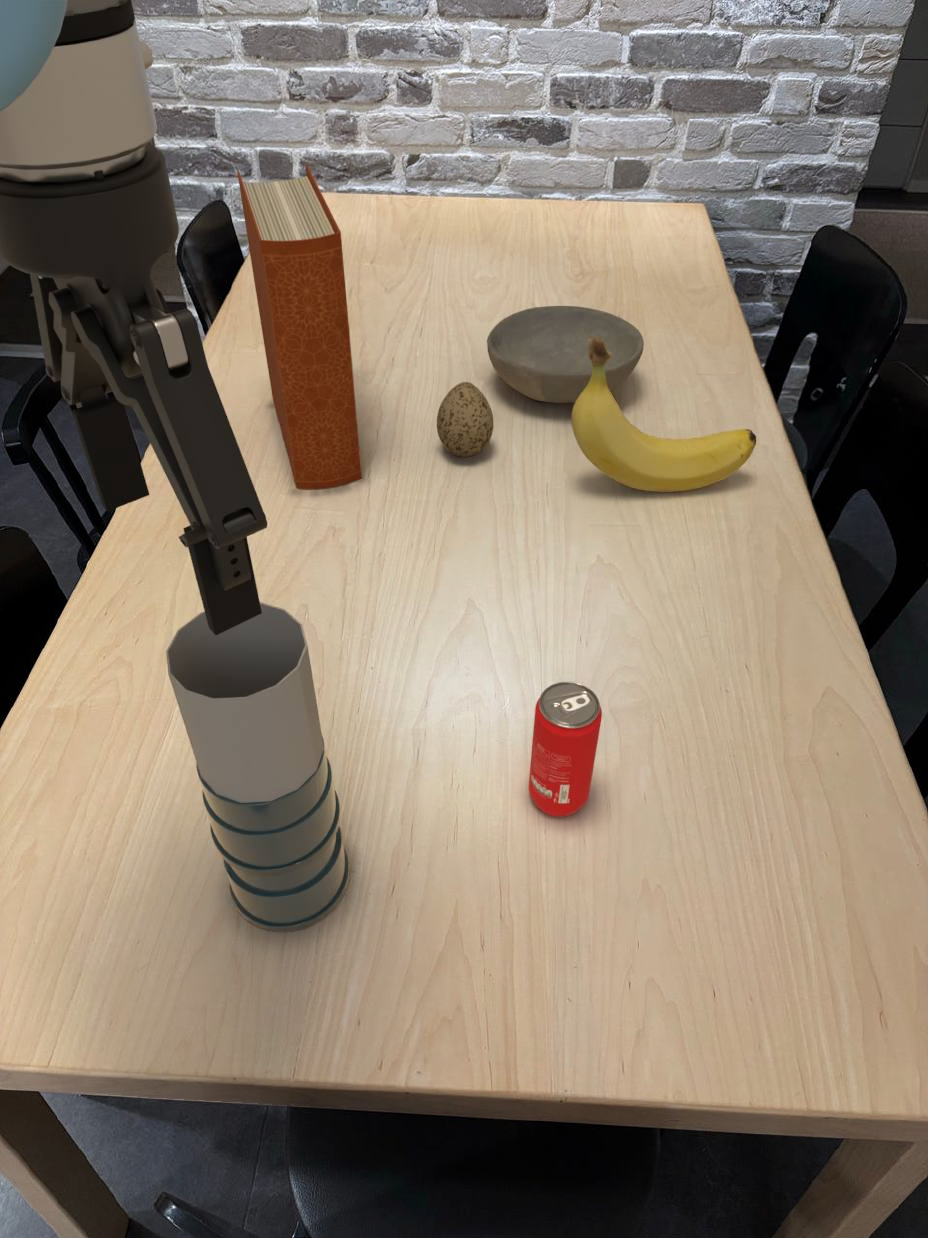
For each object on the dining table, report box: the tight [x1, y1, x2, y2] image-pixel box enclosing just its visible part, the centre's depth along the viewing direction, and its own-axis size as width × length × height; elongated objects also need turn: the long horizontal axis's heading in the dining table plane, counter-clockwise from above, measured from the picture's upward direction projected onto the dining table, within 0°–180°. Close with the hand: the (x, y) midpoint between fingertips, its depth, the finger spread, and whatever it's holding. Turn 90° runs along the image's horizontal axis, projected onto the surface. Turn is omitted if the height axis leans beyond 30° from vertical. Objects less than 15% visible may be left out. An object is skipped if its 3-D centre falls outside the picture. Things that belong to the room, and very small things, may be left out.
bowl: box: [486, 305, 645, 404], centre depth 127 cm, size 21×21×8 cm
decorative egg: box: [436, 381, 494, 458], centre depth 114 cm, size 7×7×10 cm
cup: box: [165, 601, 325, 803], centre depth 58 cm, size 8×8×10 cm
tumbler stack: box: [195, 735, 350, 933], centre depth 67 cm, size 9×9×16 cm
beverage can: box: [528, 681, 603, 818], centre depth 75 cm, size 5×5×12 cm
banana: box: [571, 337, 757, 493], centre depth 105 cm, size 23×6×20 cm, turn 96°
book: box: [236, 164, 363, 490], centre depth 109 cm, size 23×8×30 cm, turn 16°
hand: (177, 556), depth 52 cm, fingers open, 13 cm apart
